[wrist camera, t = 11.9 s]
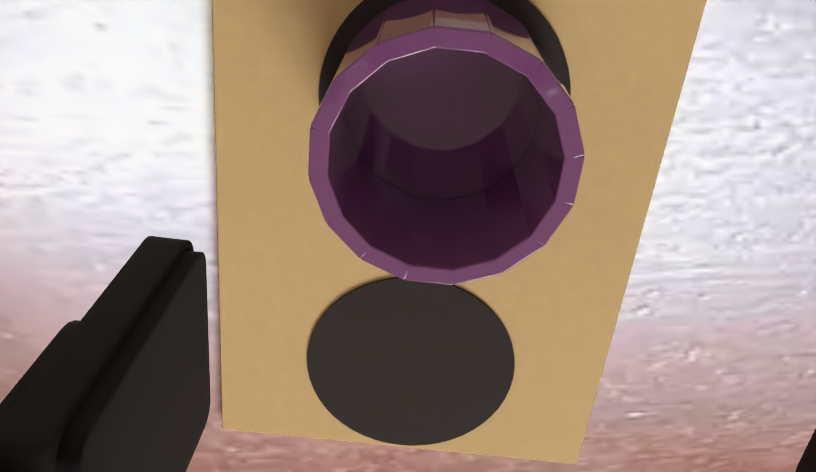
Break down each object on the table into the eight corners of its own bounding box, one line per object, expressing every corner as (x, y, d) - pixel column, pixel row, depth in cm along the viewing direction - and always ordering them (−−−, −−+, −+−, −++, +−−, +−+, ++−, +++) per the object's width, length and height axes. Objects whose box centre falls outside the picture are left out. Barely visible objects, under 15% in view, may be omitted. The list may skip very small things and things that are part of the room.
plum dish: (340, -21, 20) (313, 12, 16) (572, 5, 20) (611, 45, 16) (328, 193, 23) (303, 270, 19) (531, 214, 23) (553, 296, 19)
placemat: (214, -66, 20) (208, -65, 20) (705, -12, 21) (711, -9, 20) (224, 422, 29) (221, 431, 28) (575, 457, 29) (577, 466, 28)
